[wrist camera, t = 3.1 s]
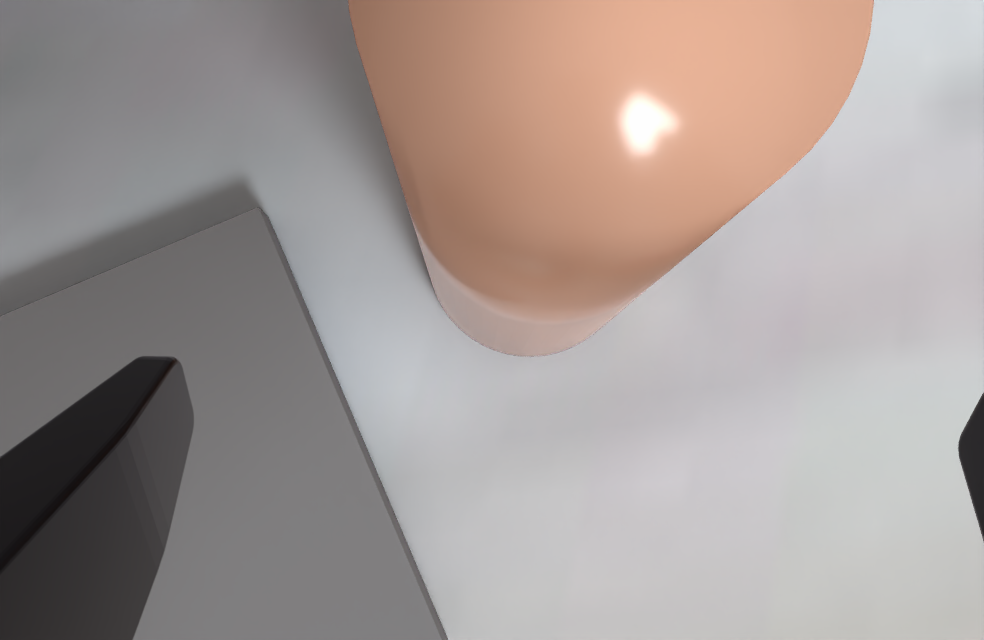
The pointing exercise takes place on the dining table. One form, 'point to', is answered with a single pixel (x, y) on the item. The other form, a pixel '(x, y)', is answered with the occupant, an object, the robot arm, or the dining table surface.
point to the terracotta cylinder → (591, 139)
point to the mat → (233, 443)
